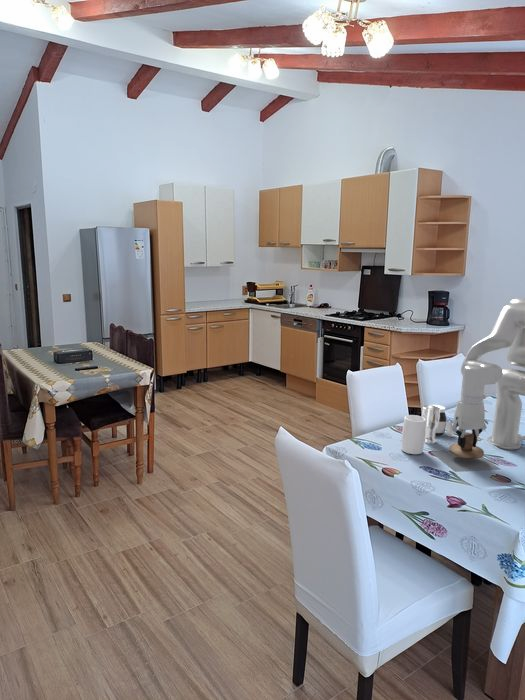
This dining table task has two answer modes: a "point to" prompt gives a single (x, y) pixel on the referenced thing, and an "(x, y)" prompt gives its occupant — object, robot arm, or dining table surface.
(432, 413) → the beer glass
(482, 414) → the robot arm
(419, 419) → the cup
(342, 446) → the dining table surface
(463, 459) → the mat
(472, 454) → the lid
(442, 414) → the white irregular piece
